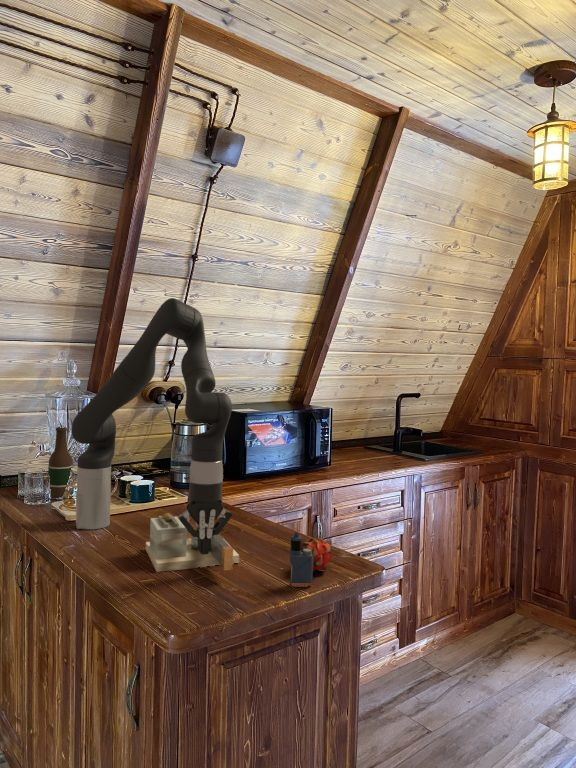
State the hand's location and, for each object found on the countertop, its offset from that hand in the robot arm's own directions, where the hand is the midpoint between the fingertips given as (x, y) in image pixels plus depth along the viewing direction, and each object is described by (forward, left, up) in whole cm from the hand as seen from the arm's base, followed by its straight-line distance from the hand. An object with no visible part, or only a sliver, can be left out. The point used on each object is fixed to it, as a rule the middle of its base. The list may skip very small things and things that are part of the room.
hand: (203, 553), depth 136 cm
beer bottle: (-29, +81, -5) cm, 86 cm away
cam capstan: (+4, +5, -3) cm, 7 cm away
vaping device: (+19, -12, -5) cm, 23 cm away
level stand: (0, +13, -5) cm, 14 cm away
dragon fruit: (+26, -4, -5) cm, 27 cm away
